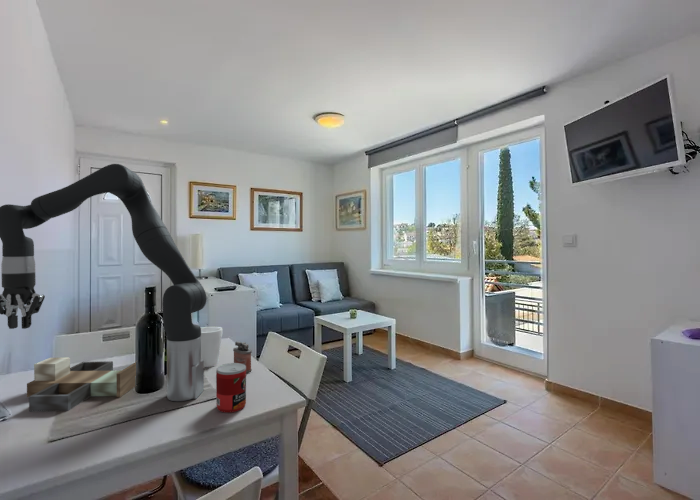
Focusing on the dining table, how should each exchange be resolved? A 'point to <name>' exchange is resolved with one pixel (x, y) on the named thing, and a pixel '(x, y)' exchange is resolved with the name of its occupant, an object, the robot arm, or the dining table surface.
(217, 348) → the foam cup
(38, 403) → the box
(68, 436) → the dining table surface
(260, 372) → the dining table surface
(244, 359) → the lighter
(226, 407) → the canned food
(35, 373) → the block
